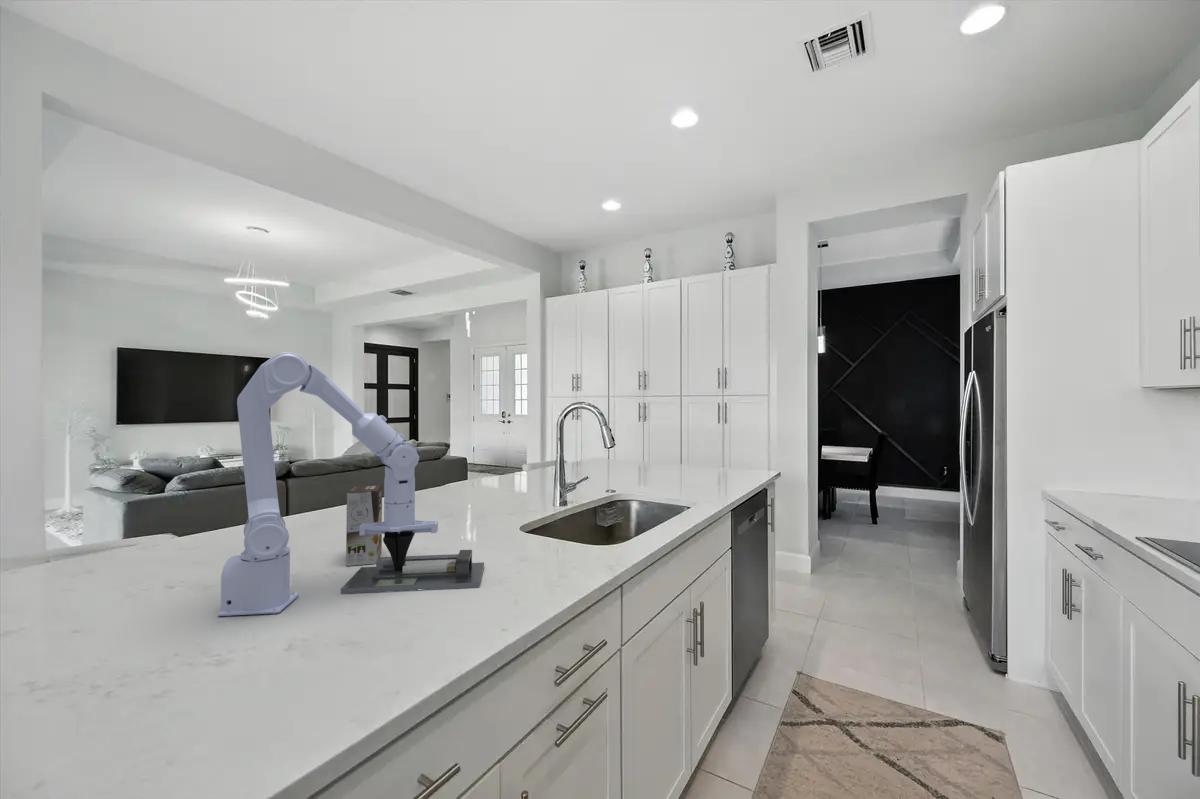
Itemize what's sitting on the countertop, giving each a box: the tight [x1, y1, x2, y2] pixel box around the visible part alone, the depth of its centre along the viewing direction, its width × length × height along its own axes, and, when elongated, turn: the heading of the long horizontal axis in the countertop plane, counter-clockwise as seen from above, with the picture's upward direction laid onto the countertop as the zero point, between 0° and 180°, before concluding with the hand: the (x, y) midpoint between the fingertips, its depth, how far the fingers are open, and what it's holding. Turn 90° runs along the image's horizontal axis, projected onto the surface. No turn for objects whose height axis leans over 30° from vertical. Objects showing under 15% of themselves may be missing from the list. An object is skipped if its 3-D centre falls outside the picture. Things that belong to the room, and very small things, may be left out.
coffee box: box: [345, 484, 383, 567], centre depth 114 cm, size 9×6×16 cm
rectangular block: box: [403, 559, 456, 575], centre depth 102 cm, size 10×3×2 cm, turn 99°
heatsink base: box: [340, 549, 485, 595], centre depth 102 cm, size 25×12×5 cm, turn 98°
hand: (399, 569), depth 101 cm, fingers closed
